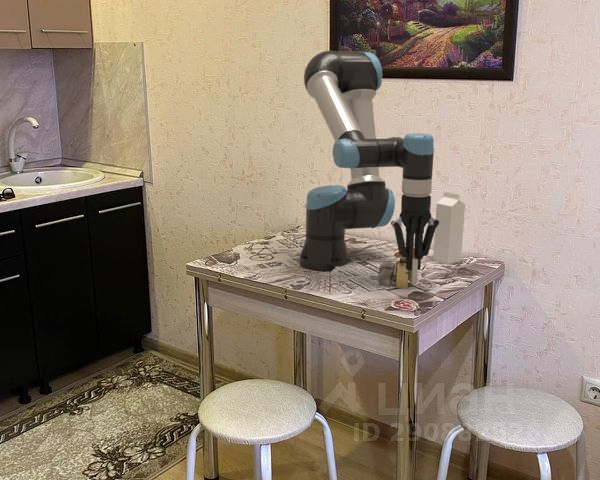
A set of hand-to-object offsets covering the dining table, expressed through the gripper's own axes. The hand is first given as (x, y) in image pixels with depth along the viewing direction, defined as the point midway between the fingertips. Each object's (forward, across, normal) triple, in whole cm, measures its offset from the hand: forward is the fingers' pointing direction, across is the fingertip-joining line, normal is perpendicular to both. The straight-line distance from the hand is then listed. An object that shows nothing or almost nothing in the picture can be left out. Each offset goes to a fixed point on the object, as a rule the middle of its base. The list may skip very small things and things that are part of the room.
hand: (412, 281), depth 177 cm
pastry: (+3, -12, -29) cm, 31 cm away
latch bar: (+1, +1, -4) cm, 5 cm away
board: (+2, -1, -8) cm, 8 cm away
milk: (+3, -20, -21) cm, 29 cm away
